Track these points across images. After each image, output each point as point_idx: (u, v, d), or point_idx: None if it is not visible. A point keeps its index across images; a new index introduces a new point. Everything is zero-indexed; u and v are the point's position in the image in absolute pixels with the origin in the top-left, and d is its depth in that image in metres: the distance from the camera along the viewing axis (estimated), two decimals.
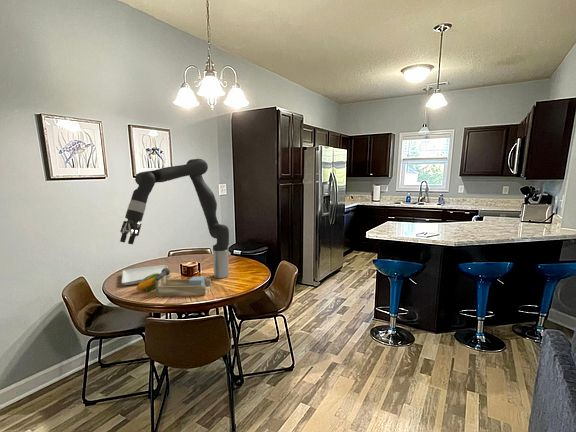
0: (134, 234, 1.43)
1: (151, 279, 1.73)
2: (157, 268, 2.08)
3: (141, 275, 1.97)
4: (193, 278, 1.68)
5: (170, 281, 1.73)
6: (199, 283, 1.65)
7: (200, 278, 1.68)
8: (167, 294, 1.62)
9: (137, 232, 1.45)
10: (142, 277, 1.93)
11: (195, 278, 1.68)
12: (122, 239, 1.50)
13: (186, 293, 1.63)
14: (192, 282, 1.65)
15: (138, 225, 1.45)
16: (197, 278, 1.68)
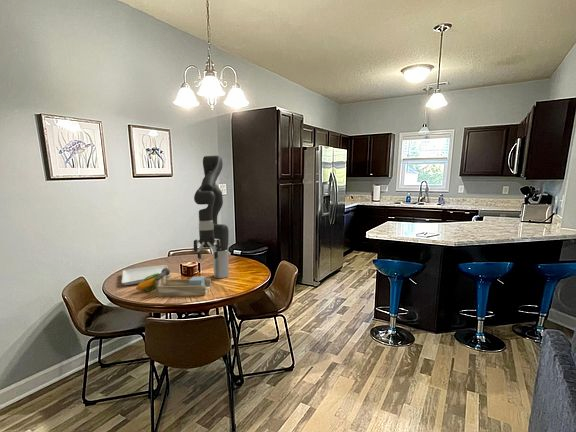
0: (219, 250, 1.62)
1: (151, 279, 1.73)
2: (157, 268, 2.08)
3: (141, 275, 1.97)
4: (193, 278, 1.68)
5: (170, 281, 1.73)
6: (199, 283, 1.65)
7: (200, 278, 1.68)
8: (167, 294, 1.62)
9: None
10: (142, 277, 1.93)
11: (195, 278, 1.68)
12: (200, 256, 1.63)
13: (186, 293, 1.63)
14: (192, 282, 1.65)
15: (219, 241, 1.62)
16: (197, 278, 1.68)
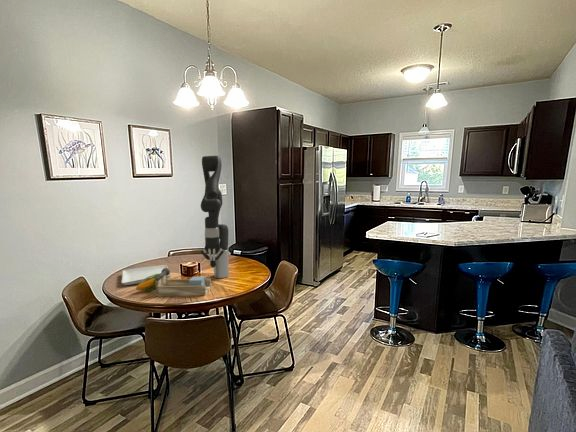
0: (218, 258, 1.66)
1: (152, 279, 1.72)
2: (157, 268, 2.08)
3: (141, 275, 1.97)
4: (193, 278, 1.68)
5: (170, 281, 1.73)
6: (199, 283, 1.65)
7: (200, 278, 1.68)
8: (167, 294, 1.62)
9: None
10: (142, 277, 1.93)
11: (195, 278, 1.68)
12: None
13: (186, 293, 1.63)
14: (192, 282, 1.65)
15: (223, 252, 1.66)
16: (197, 278, 1.68)
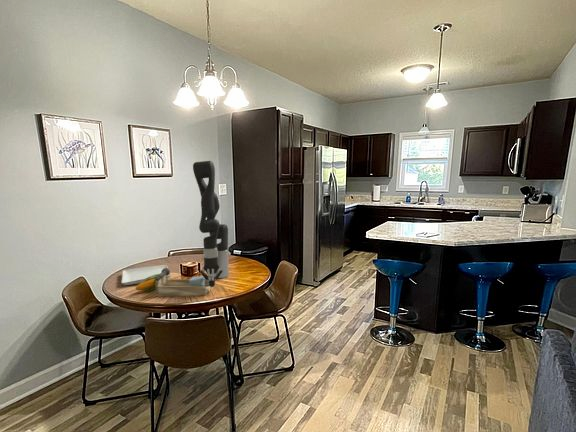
0: None
1: (152, 280, 1.72)
2: (157, 268, 2.08)
3: (141, 275, 1.97)
4: (193, 278, 1.68)
5: (170, 281, 1.73)
6: (199, 283, 1.65)
7: (200, 278, 1.68)
8: (167, 294, 1.62)
9: None
10: (142, 277, 1.93)
11: (195, 278, 1.68)
12: None
13: (186, 293, 1.63)
14: (192, 282, 1.65)
15: (222, 272, 1.68)
16: (197, 278, 1.68)
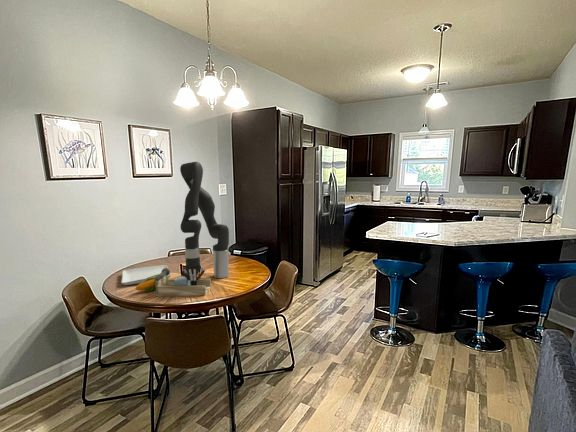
0: (199, 278, 1.67)
1: (152, 280, 1.71)
2: (157, 268, 2.08)
3: (141, 275, 1.97)
4: (178, 278, 1.68)
5: (170, 281, 1.73)
6: (184, 283, 1.65)
7: (185, 278, 1.68)
8: (167, 294, 1.62)
9: None
10: (142, 277, 1.93)
11: (180, 278, 1.68)
12: None
13: (186, 293, 1.63)
14: (177, 282, 1.65)
15: None
16: (182, 278, 1.68)
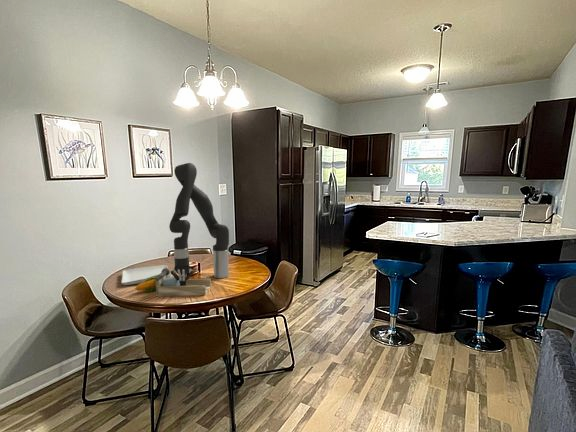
0: (188, 278, 1.67)
1: (152, 280, 1.71)
2: (157, 268, 2.08)
3: (141, 275, 1.97)
4: (167, 278, 1.68)
5: None
6: (173, 283, 1.65)
7: (174, 278, 1.68)
8: (167, 294, 1.62)
9: None
10: (142, 277, 1.93)
11: (169, 278, 1.68)
12: None
13: (186, 293, 1.63)
14: (166, 282, 1.65)
15: None
16: (171, 278, 1.68)
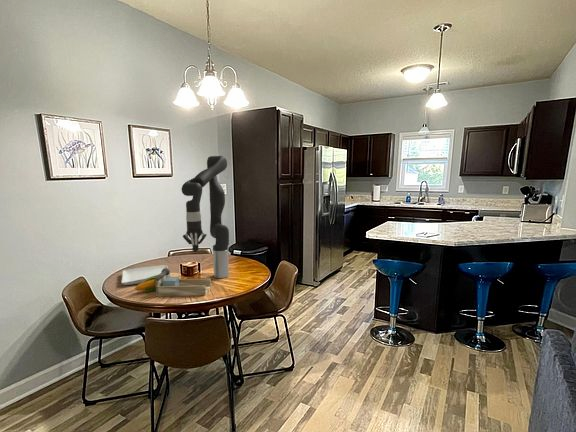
0: None
1: (152, 280, 1.71)
2: (157, 268, 2.08)
3: (141, 275, 1.97)
4: (167, 278, 1.68)
5: None
6: (173, 283, 1.65)
7: (174, 278, 1.68)
8: (167, 294, 1.62)
9: None
10: (142, 277, 1.93)
11: (169, 278, 1.68)
12: None
13: (186, 293, 1.63)
14: (165, 282, 1.65)
15: (205, 236, 1.66)
16: (171, 278, 1.68)
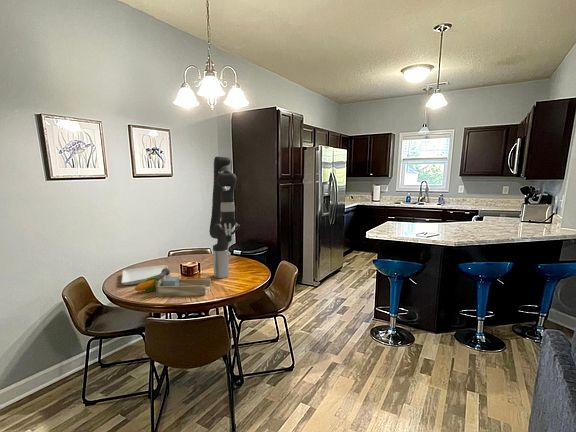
0: None
1: (152, 280, 1.71)
2: (157, 268, 2.08)
3: (141, 275, 1.97)
4: (167, 278, 1.68)
5: None
6: (173, 283, 1.65)
7: (174, 278, 1.68)
8: (167, 294, 1.62)
9: None
10: (142, 277, 1.93)
11: (169, 278, 1.68)
12: None
13: (186, 293, 1.63)
14: (165, 282, 1.65)
15: (238, 227, 1.67)
16: (171, 278, 1.68)
